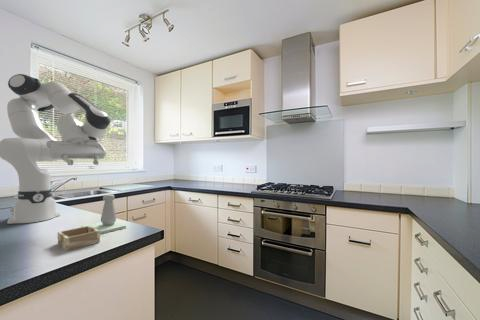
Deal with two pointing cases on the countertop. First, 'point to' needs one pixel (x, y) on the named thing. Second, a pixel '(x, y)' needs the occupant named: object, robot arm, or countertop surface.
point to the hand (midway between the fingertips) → (84, 163)
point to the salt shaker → (108, 211)
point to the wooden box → (78, 237)
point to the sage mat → (106, 227)
